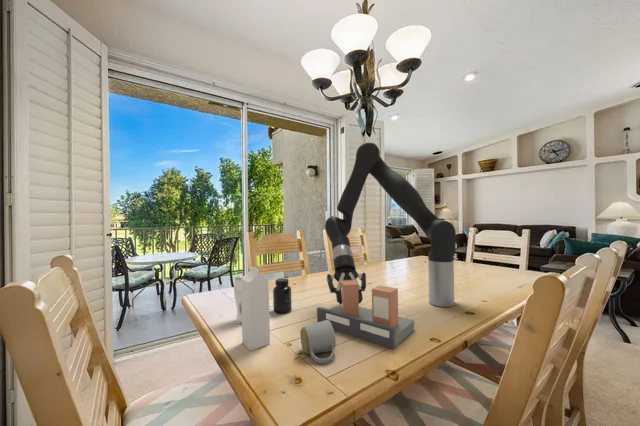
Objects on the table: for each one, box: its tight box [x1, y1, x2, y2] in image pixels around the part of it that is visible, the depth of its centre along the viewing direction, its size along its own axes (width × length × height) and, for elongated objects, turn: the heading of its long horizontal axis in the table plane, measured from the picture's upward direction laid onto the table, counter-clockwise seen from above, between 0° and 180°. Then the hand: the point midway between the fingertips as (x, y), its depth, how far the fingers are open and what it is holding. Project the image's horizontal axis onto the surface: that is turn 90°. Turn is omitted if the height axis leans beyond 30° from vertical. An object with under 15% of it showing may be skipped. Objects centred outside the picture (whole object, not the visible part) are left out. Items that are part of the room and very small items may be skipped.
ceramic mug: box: [299, 320, 337, 364], centre depth 72 cm, size 11×8×8 cm
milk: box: [241, 265, 271, 352], centre depth 79 cm, size 6×6×22 cm
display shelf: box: [316, 304, 415, 350], centre depth 88 cm, size 16×27×6 cm, turn 50°
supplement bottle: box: [272, 277, 293, 315], centre depth 104 cm, size 7×7×12 cm
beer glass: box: [233, 275, 244, 324], centre depth 96 cm, size 7×7×15 cm
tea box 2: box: [371, 284, 399, 328], centre depth 82 cm, size 5×6×11 cm
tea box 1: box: [339, 280, 360, 318], centre depth 91 cm, size 5×6×11 cm
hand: (350, 302), depth 89 cm, fingers open, 5 cm apart
